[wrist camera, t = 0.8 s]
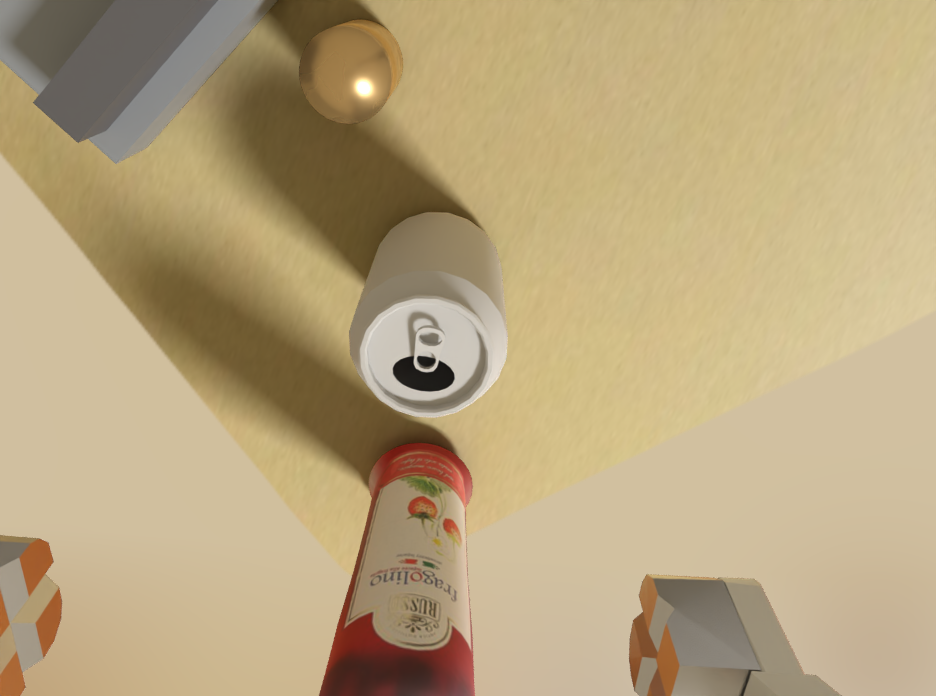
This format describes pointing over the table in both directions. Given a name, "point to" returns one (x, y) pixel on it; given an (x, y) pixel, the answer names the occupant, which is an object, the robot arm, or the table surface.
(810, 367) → the table surface
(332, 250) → the table surface
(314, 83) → the gold cylinder puck
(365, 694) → the liquor
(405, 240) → the can
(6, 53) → the frame
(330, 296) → the table surface
